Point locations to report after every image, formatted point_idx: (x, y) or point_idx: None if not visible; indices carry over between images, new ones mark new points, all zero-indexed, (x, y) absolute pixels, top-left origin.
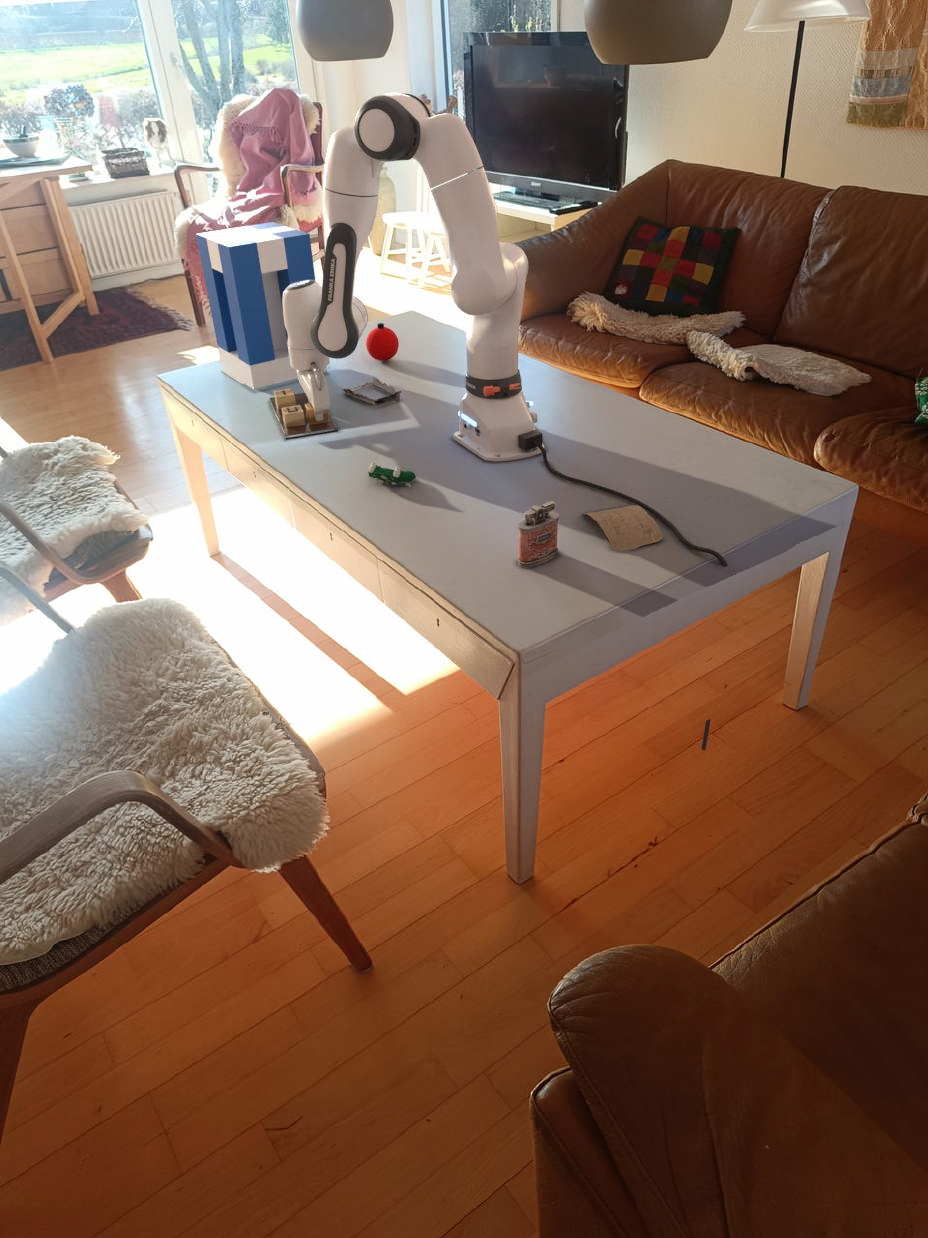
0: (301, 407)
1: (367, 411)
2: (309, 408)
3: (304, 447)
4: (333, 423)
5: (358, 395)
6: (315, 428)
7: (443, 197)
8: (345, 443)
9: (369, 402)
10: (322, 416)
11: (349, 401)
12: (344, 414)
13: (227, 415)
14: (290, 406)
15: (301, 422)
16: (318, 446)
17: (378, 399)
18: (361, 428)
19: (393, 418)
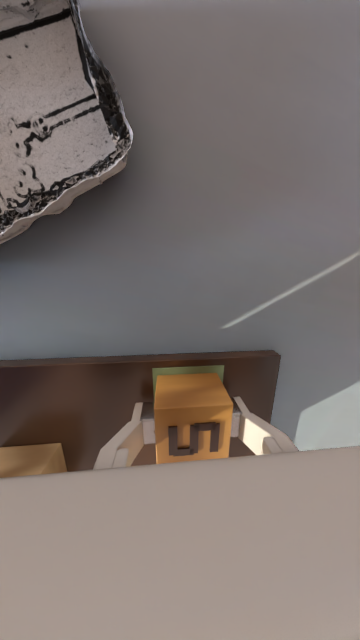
0: (69, 429)
1: (147, 218)
2: (213, 458)
3: (316, 432)
4: (243, 361)
5: (27, 216)
6: (253, 410)
7: None
8: (354, 344)
9: (92, 184)
10: (243, 405)
11: (15, 261)
12: (146, 306)
13: None
14: (62, 461)
15: None
16: (330, 405)
17: (118, 123)
18: (285, 280)
19: (260, 133)
